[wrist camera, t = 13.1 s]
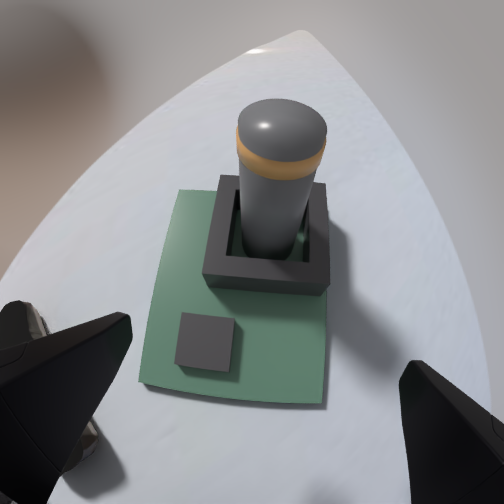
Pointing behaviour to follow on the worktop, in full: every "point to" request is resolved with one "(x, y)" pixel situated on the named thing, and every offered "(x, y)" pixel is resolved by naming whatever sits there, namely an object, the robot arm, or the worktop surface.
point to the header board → (238, 305)
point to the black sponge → (24, 330)
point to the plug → (276, 172)
